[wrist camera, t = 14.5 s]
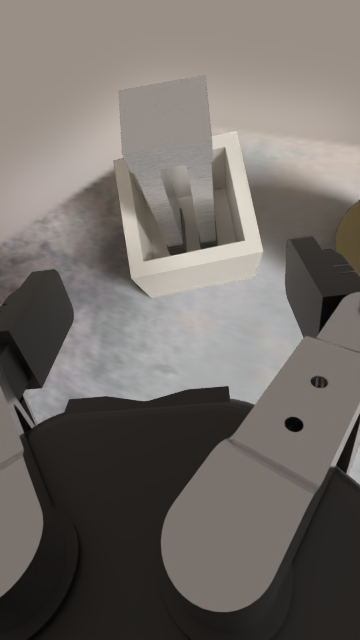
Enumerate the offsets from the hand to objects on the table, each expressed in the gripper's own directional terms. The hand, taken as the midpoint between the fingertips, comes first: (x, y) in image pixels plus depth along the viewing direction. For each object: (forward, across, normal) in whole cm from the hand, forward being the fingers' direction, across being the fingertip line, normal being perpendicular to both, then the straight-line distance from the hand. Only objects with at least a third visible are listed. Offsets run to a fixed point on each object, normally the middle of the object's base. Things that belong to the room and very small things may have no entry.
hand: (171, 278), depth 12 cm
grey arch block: (+17, 0, +6) cm, 18 cm away
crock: (+18, 0, +6) cm, 19 cm away
